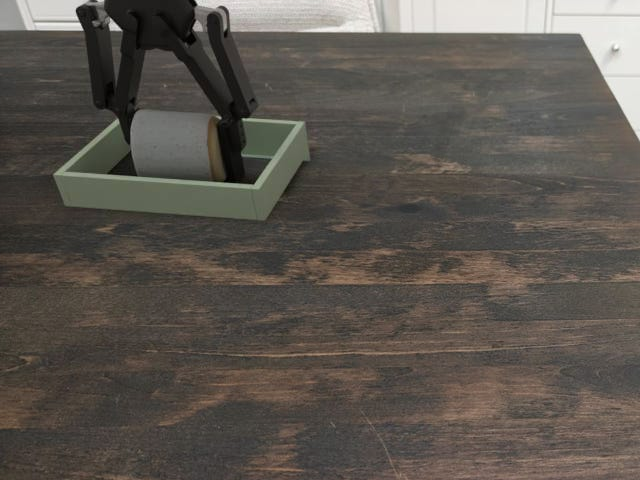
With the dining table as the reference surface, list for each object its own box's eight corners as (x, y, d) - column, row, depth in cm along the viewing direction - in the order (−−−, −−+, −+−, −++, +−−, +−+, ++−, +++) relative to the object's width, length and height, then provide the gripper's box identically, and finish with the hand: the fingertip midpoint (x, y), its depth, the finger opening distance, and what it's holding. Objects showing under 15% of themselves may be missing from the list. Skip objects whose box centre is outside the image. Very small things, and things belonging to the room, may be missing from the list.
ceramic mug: (225, 198, 76) (208, 126, 71) (142, 200, 76) (120, 127, 71) (241, 153, 84) (227, 86, 79) (167, 155, 84) (148, 87, 79)
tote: (69, 217, 75) (52, 174, 72) (138, 150, 87) (126, 110, 84) (267, 232, 74) (258, 189, 71) (310, 161, 86) (305, 121, 82)
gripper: (267, -67, 67) (302, 165, 82) (39, -78, 68) (115, 153, 83) (238, -47, 61) (281, 199, 76) (-10, -59, 63) (81, 185, 77)
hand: (194, 175), depth 79 cm, fingers closed on ceramic mug, 9 cm apart
